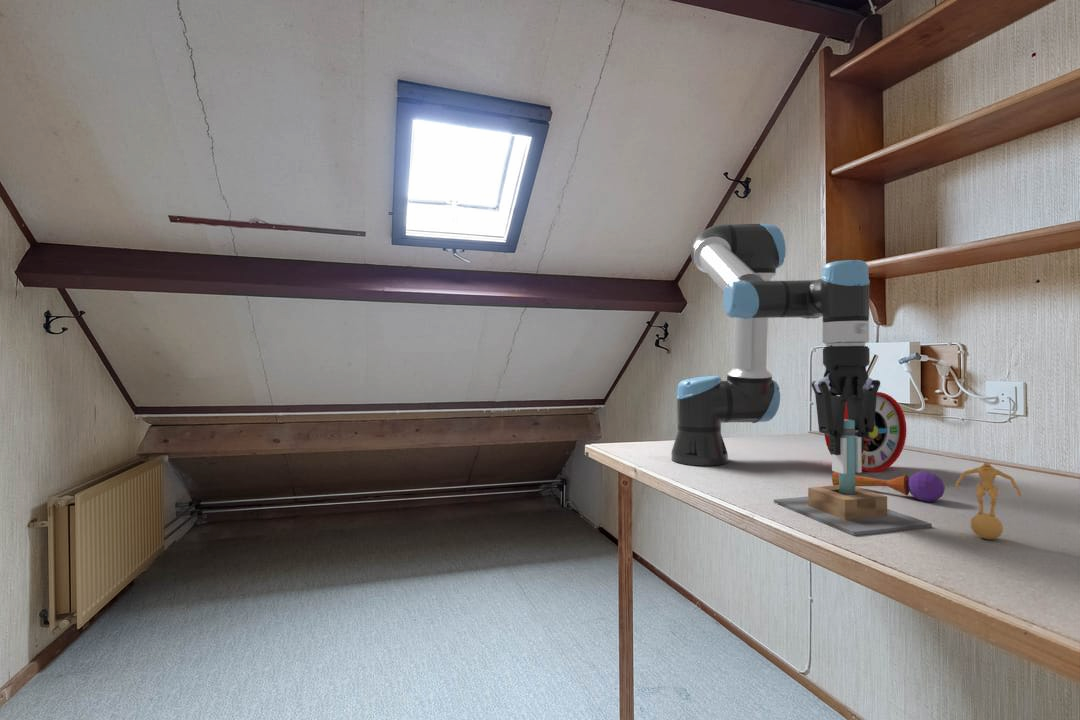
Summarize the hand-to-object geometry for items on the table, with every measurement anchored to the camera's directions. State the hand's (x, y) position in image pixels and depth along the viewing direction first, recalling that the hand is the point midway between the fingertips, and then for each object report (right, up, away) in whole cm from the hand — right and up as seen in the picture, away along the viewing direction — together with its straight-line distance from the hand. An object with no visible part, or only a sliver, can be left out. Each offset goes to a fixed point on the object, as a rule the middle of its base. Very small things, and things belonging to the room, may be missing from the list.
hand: (846, 471), depth 98 cm
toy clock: (+26, -7, +36) cm, 45 cm away
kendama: (+16, -8, +14) cm, 23 cm away
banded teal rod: (0, -6, 0) cm, 6 cm away
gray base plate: (0, -8, 0) cm, 8 cm away
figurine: (+15, -8, -13) cm, 21 cm away
